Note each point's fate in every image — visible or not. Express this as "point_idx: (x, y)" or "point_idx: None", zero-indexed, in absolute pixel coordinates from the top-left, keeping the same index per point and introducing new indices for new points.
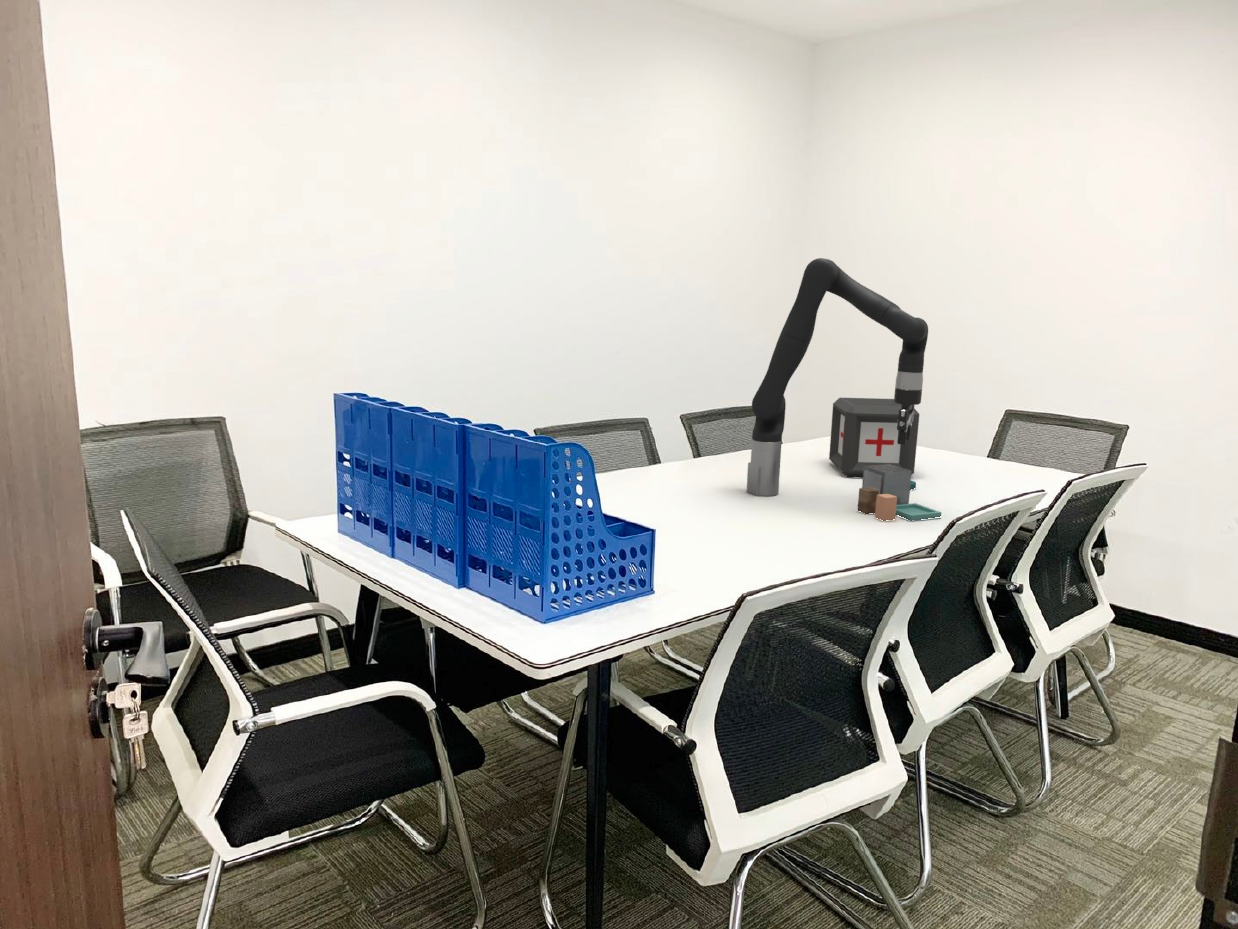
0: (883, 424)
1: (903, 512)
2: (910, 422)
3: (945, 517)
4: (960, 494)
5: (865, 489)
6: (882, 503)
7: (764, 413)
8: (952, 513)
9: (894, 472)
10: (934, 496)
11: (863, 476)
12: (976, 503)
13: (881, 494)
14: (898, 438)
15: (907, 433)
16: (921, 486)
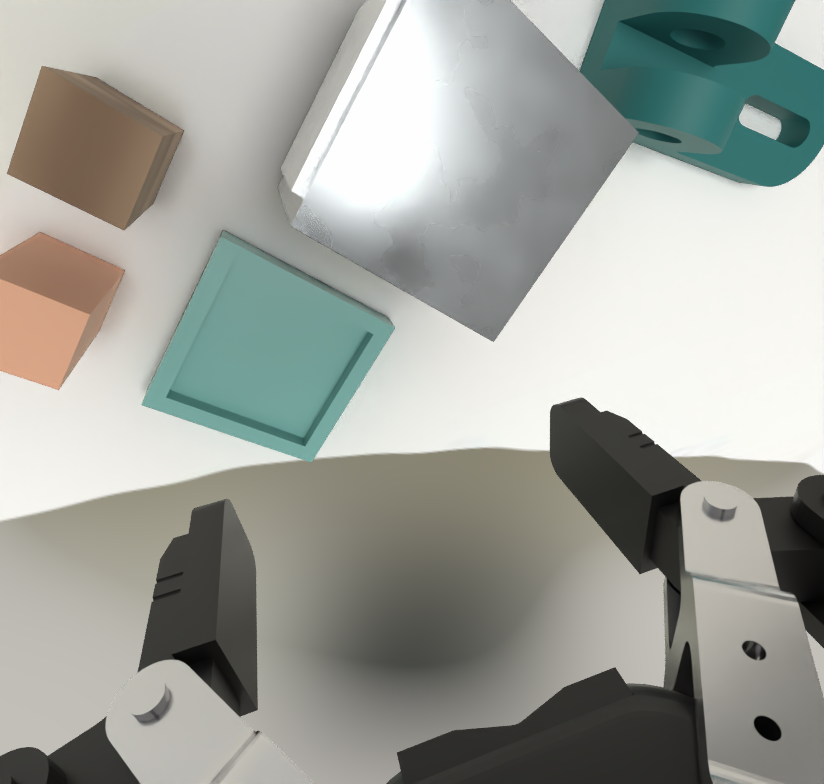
0: None
1: (165, 357)
2: (666, 663)
3: (338, 451)
4: (715, 357)
5: (54, 130)
6: None
7: None
8: (417, 444)
9: (373, 272)
10: (650, 296)
11: None
12: None
13: (18, 292)
14: (188, 563)
15: (593, 493)
16: (807, 186)
